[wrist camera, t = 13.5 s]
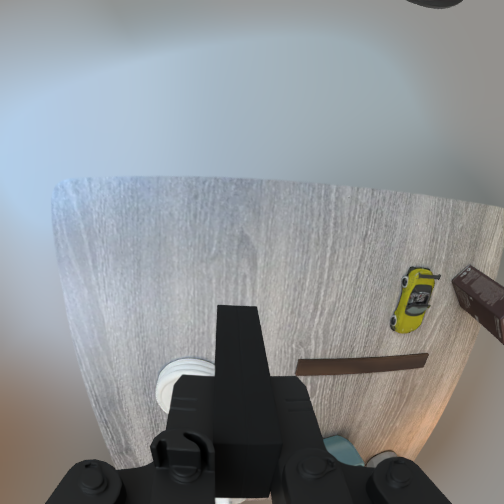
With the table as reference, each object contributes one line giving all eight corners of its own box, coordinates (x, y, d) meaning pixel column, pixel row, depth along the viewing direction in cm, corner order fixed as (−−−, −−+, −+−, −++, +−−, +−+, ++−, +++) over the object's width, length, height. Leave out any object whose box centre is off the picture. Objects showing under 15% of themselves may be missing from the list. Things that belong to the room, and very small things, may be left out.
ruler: (298, 359, 42) (299, 361, 41) (427, 352, 44) (429, 354, 44) (295, 373, 43) (295, 375, 42) (422, 365, 45) (423, 367, 44)
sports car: (385, 330, 42) (394, 342, 39) (405, 264, 39) (416, 272, 36) (413, 330, 42) (423, 340, 39) (433, 267, 39) (445, 275, 36)
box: (449, 281, 40) (500, 319, 29) (469, 263, 40) (522, 296, 28) (458, 308, 42) (504, 347, 31) (477, 291, 41) (525, 325, 30)
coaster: (222, 412, 44) (222, 429, 41) (156, 401, 43) (153, 417, 39) (235, 363, 41) (236, 380, 38) (161, 350, 40) (157, 366, 36)
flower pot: (349, 424, 47) (365, 462, 39) (348, 451, 50) (361, 486, 42) (299, 437, 47) (309, 477, 39) (303, 462, 50) (312, 499, 42)
